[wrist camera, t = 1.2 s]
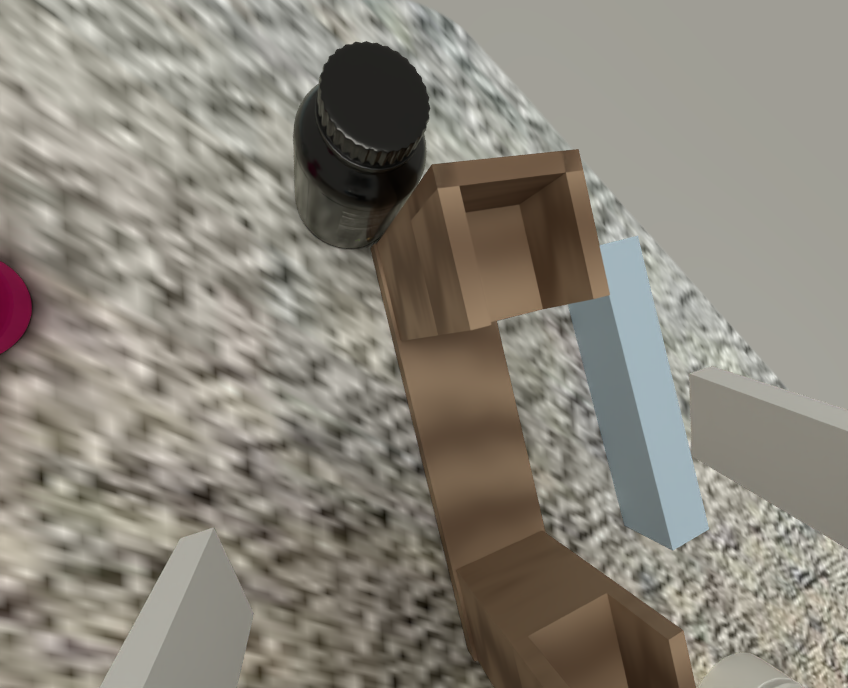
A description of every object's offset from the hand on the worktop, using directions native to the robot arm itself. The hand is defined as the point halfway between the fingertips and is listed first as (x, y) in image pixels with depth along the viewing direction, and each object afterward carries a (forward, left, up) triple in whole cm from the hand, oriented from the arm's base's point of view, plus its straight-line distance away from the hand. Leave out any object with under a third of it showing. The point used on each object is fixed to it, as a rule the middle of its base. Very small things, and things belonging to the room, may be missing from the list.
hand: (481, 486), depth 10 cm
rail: (-5, -21, -19) cm, 29 cm away
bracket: (-5, -7, -18) cm, 20 cm away
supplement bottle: (+14, -2, -19) cm, 24 cm away
